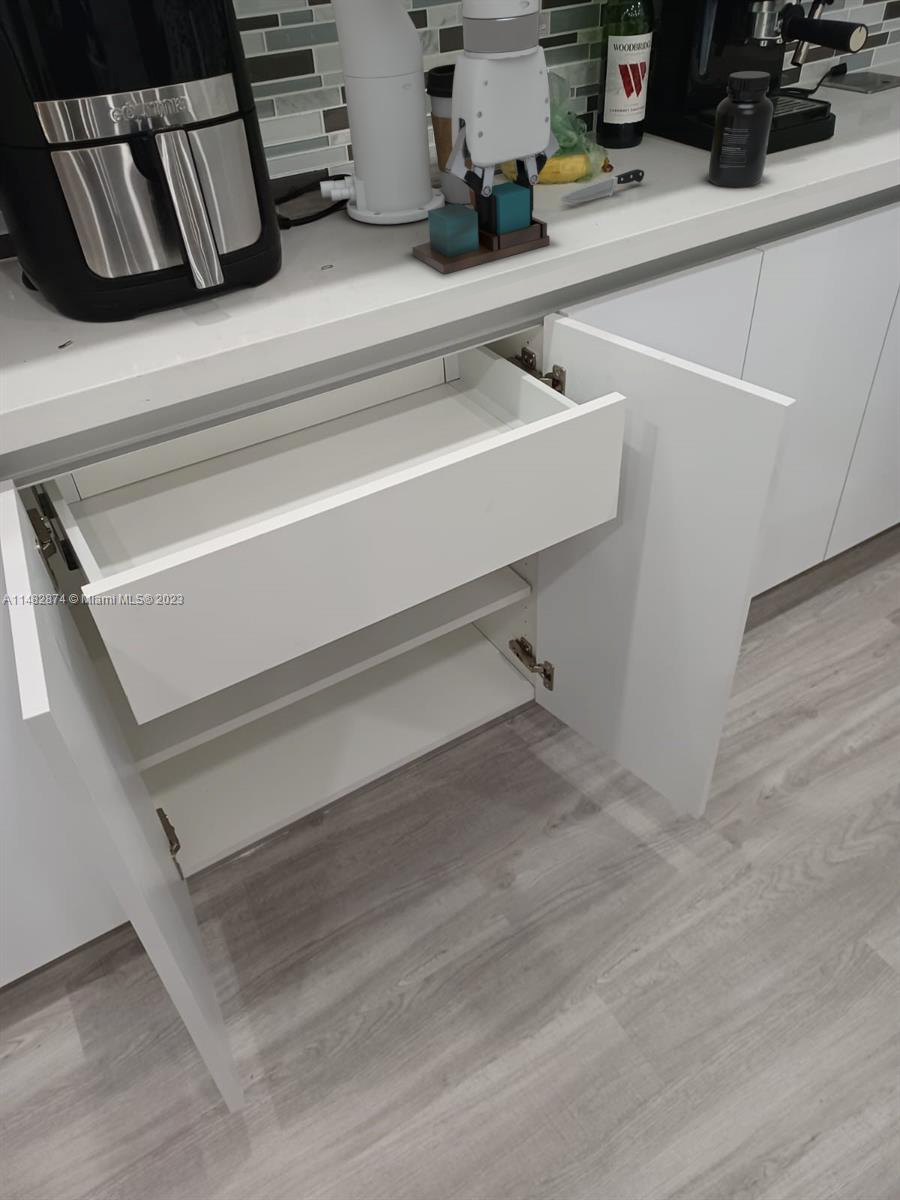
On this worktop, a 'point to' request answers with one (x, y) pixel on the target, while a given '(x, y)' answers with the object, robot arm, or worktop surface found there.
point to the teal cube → (511, 206)
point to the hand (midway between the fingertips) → (504, 223)
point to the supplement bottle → (741, 131)
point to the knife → (602, 187)
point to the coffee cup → (445, 131)
